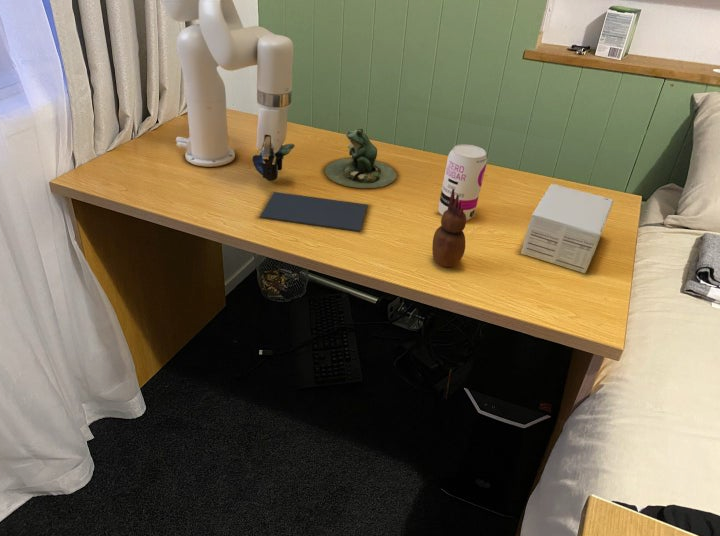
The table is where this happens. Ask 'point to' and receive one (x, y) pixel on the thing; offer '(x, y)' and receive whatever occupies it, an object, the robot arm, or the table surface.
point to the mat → (315, 211)
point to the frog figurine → (360, 165)
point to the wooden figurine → (450, 235)
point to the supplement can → (463, 178)
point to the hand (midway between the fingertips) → (272, 173)
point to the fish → (280, 154)
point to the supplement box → (566, 227)
